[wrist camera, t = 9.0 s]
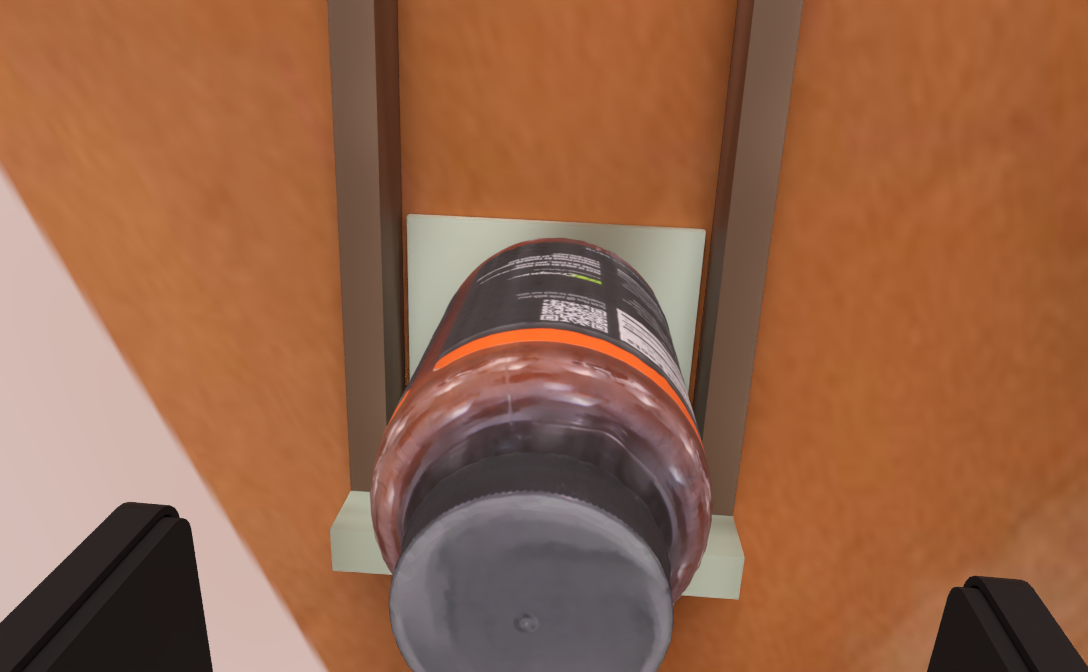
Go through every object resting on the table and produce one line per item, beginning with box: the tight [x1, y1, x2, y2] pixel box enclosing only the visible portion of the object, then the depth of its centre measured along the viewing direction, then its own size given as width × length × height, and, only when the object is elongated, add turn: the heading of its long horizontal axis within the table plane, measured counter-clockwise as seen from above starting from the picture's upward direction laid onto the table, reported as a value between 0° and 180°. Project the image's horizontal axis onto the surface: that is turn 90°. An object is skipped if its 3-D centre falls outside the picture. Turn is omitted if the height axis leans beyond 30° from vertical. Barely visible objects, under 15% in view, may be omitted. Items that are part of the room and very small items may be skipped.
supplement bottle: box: [370, 238, 713, 672], centre depth 16 cm, size 6×6×11 cm
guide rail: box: [327, 0, 804, 599], centre depth 19 cm, size 10×16×4 cm, turn 178°
